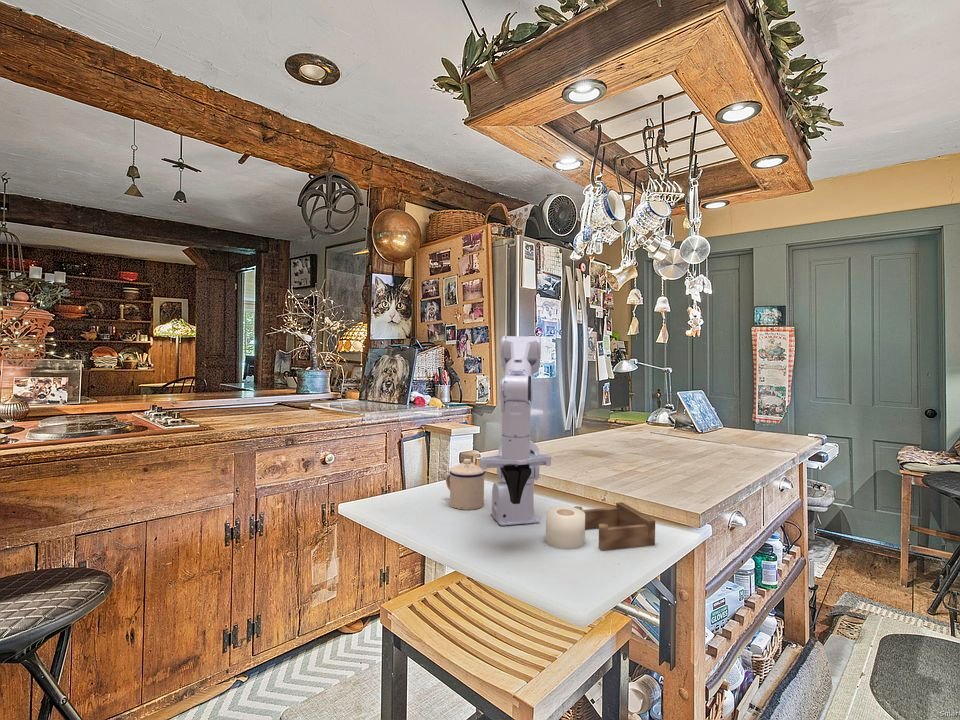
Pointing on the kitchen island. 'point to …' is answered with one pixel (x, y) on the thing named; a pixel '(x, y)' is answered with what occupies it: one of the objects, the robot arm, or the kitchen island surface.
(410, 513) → the kitchen island surface
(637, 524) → the holder
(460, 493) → the teacup with lid
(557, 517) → the roll
